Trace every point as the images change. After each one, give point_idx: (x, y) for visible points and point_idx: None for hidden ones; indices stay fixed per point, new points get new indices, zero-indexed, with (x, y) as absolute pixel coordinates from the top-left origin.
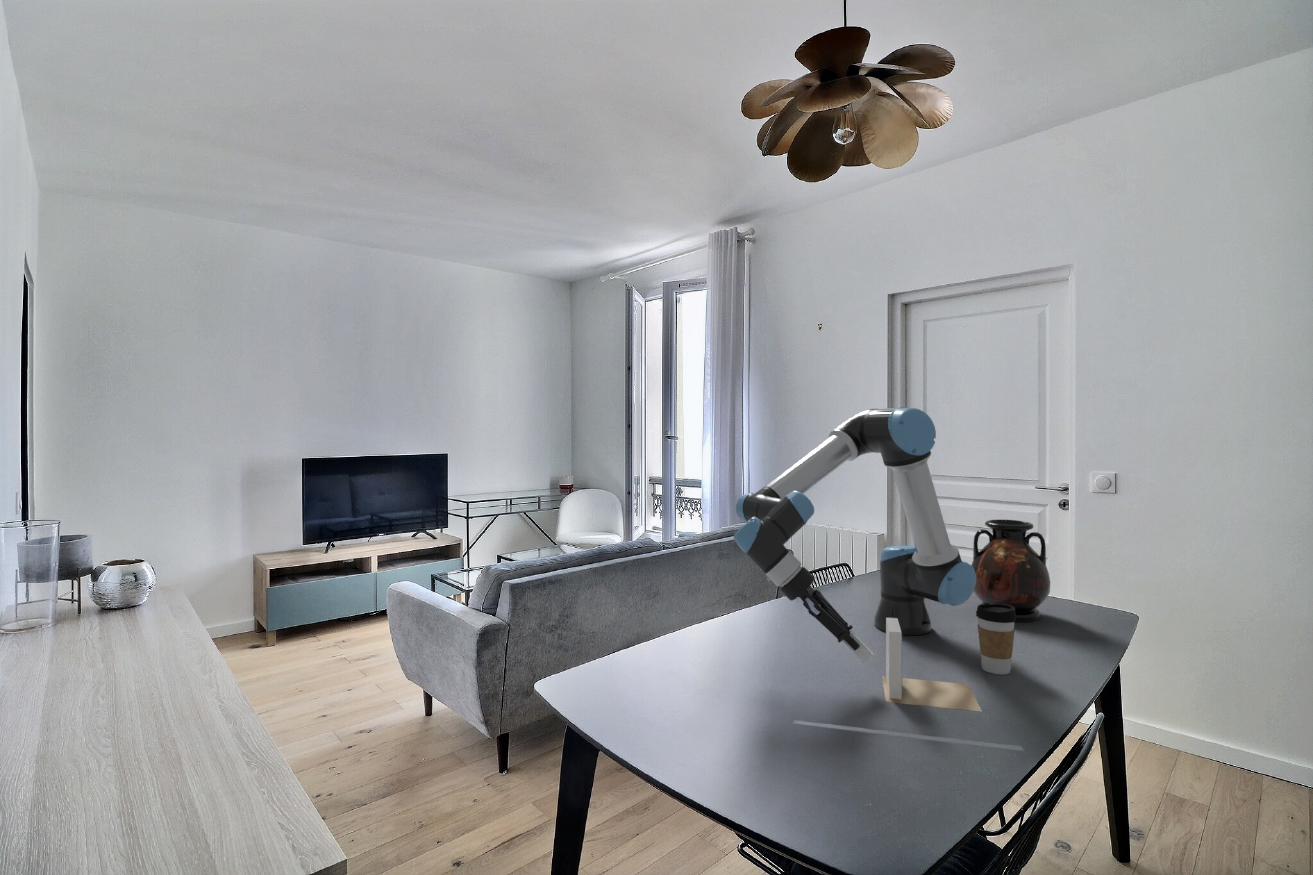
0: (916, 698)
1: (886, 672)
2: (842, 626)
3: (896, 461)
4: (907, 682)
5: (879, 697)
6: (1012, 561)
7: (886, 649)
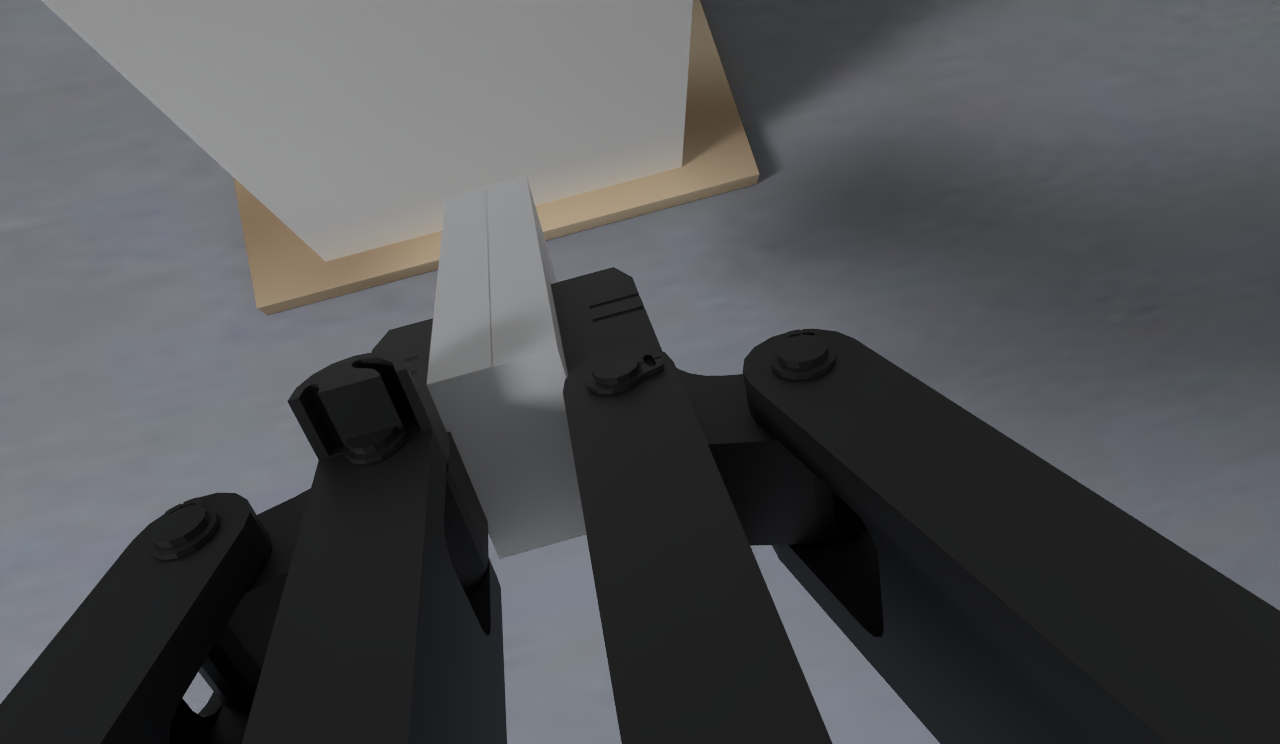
0: None
1: (335, 220)
2: (709, 467)
3: None
4: None
5: (653, 250)
6: None
7: (233, 104)
